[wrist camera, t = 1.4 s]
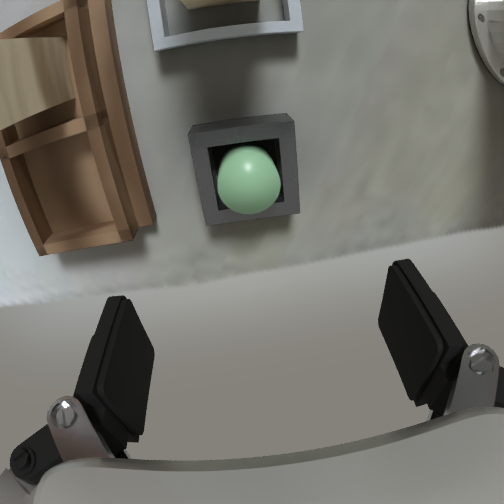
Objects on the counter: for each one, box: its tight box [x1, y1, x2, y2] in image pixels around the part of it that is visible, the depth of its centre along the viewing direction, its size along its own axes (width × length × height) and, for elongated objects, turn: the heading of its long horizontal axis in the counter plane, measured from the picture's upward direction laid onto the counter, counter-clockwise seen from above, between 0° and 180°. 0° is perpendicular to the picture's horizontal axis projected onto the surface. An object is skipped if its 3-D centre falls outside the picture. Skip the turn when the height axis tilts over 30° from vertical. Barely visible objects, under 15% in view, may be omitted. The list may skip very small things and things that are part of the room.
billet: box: [0, 37, 75, 130], centre depth 13 cm, size 5×5×10 cm
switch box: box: [188, 113, 300, 226], centre depth 23 cm, size 7×7×3 cm
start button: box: [217, 144, 281, 214], centre depth 22 cm, size 4×4×3 cm
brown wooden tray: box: [0, 0, 156, 256], centre depth 20 cm, size 12×19×4 cm, turn 7°
